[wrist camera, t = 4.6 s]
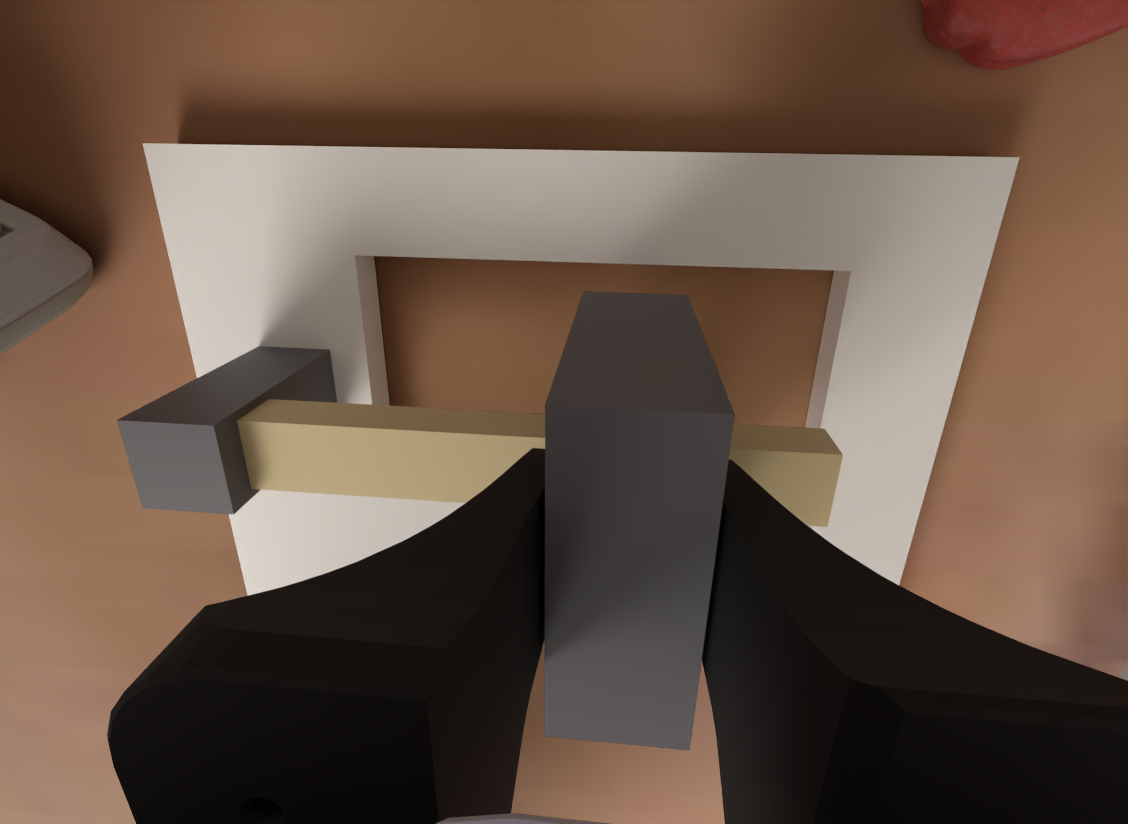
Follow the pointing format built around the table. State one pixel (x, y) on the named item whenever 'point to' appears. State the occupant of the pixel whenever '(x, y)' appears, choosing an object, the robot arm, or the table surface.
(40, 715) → the table surface
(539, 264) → the table surface
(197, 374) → the white slotted board
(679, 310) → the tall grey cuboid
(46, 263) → the digital clock
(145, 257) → the table surface
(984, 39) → the stacking bear
